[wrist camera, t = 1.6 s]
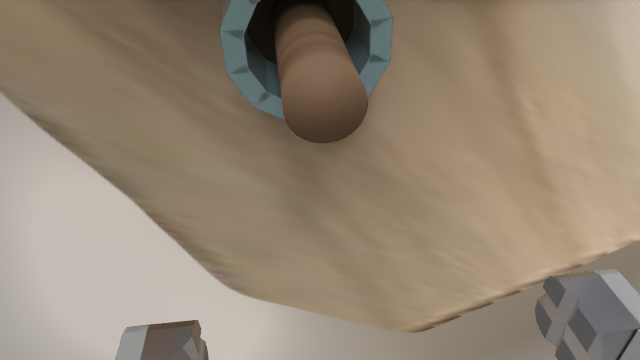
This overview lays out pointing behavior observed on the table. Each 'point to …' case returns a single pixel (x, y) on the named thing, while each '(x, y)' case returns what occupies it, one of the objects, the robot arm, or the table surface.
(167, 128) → the table surface
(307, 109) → the dowel
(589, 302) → the robot arm
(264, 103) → the tube
